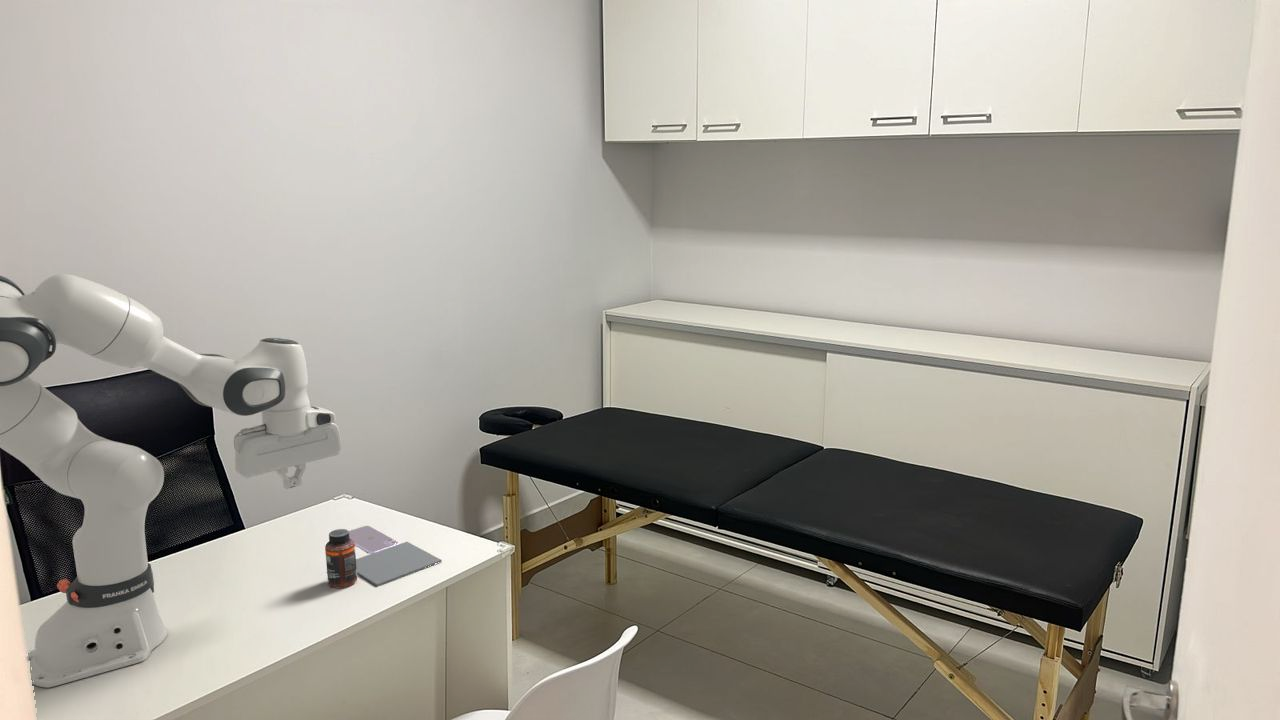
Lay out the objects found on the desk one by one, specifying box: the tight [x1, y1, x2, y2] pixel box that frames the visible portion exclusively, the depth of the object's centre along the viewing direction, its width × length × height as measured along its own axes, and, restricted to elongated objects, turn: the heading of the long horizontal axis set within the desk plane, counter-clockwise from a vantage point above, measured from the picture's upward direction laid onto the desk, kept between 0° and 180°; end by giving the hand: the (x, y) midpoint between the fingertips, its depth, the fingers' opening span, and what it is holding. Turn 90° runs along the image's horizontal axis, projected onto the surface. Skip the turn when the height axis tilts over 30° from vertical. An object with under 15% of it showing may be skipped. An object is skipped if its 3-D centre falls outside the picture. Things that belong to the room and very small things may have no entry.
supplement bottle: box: [324, 528, 358, 589], centre depth 185 cm, size 6×6×11 cm
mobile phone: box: [348, 525, 400, 555], centre depth 207 cm, size 8×1×15 cm
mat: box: [356, 541, 443, 587], centre depth 195 cm, size 16×14×1 cm
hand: (292, 486), depth 175 cm, fingers closed
